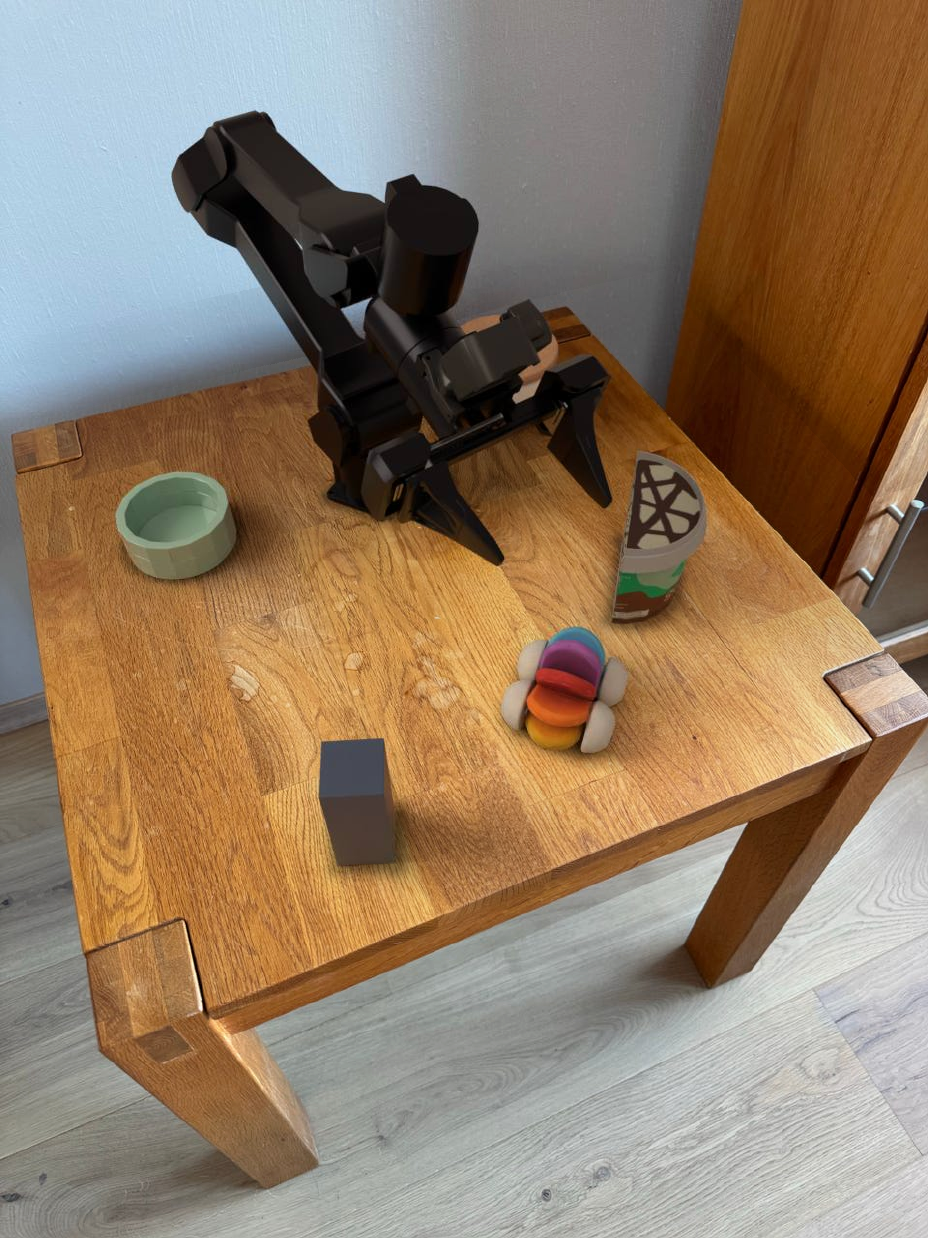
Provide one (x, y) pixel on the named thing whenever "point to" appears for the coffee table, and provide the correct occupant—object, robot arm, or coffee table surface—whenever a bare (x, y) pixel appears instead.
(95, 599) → the coffee table surface
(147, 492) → the bowl
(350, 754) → the block
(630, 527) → the food container
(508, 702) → the rainbow wheeled toy
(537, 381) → the trinket box
